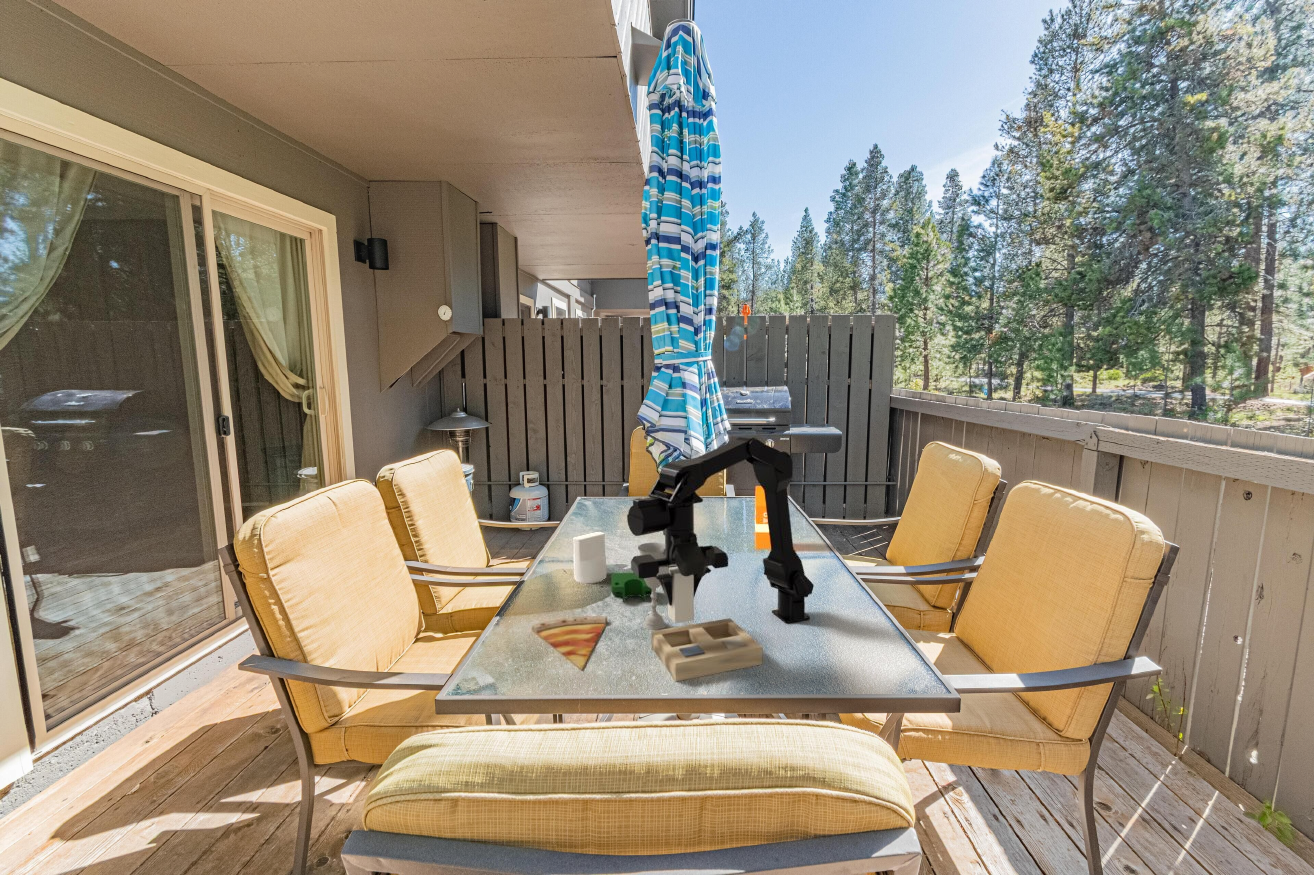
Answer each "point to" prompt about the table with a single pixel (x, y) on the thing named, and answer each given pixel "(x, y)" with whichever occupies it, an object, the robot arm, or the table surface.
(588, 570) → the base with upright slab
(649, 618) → the chalice
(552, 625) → the pizza slice
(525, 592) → the table surface
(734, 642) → the socket board
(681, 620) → the plug
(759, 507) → the orange juice
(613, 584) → the clamp
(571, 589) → the table surface
